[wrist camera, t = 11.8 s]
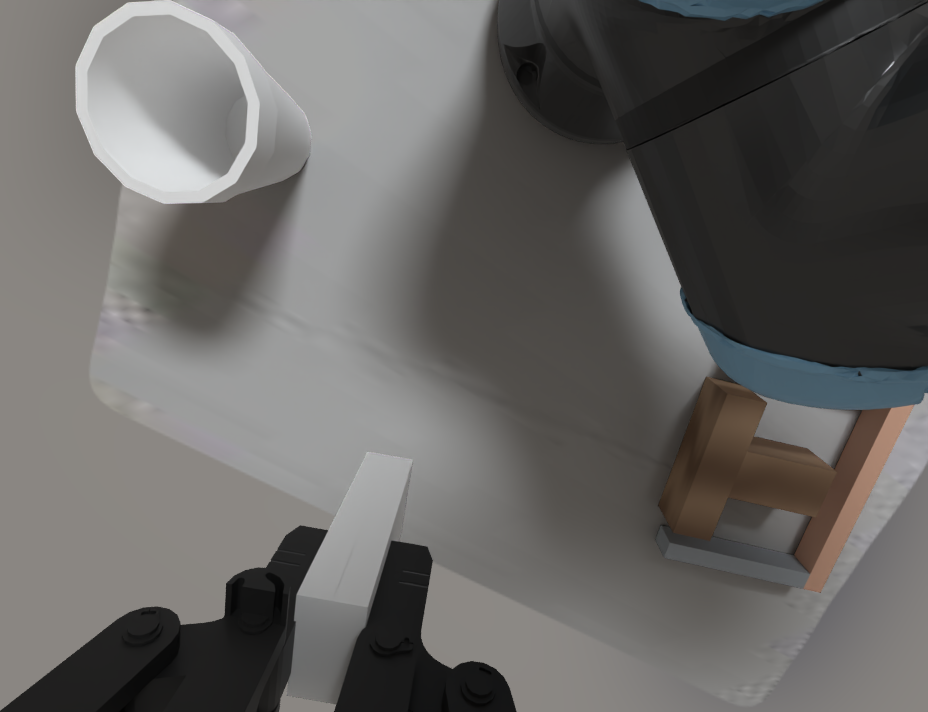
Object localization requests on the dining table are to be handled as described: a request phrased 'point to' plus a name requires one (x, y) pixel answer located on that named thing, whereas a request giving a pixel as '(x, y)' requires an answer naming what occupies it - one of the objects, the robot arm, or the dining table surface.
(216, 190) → the foam cup
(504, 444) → the dining table surface
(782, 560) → the push bay
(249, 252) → the dining table surface
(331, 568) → the robot arm
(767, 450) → the t block
